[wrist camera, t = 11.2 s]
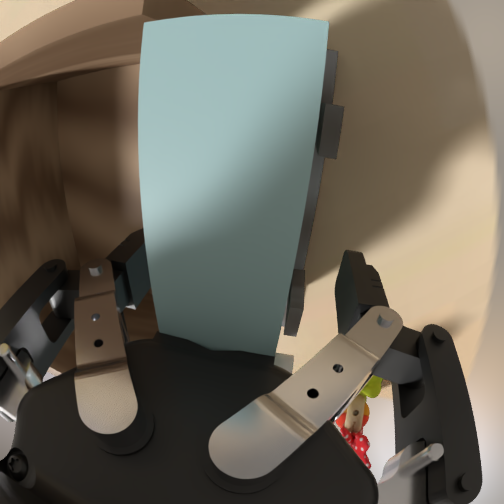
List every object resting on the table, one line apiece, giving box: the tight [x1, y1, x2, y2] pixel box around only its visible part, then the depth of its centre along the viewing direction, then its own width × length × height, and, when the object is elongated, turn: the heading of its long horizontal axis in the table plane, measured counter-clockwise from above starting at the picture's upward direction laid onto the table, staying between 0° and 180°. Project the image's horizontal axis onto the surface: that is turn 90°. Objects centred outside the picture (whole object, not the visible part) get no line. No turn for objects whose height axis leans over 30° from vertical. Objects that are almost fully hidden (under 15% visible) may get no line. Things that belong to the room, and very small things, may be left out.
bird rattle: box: [336, 375, 383, 469], centre depth 22 cm, size 6×11×9 cm
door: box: [138, 14, 329, 373], centre depth 12 cm, size 16×4×12 cm, turn 175°
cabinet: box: [0, 0, 344, 376], centre depth 14 cm, size 20×21×11 cm
